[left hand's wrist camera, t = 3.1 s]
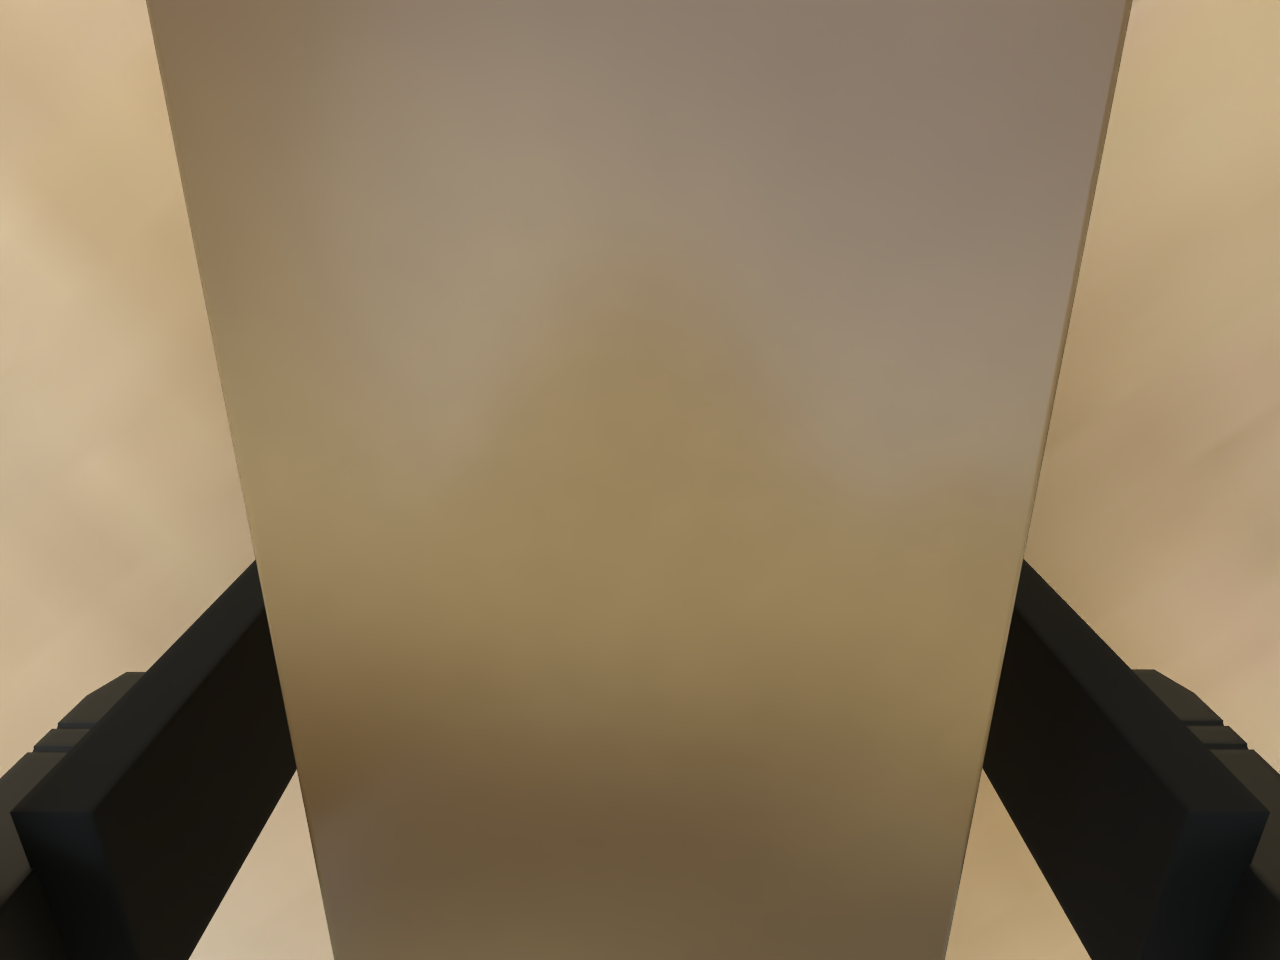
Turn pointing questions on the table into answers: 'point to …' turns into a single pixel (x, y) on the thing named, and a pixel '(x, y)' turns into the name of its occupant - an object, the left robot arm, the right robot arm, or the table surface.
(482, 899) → the bar
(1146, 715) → the left robot arm
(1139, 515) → the table surface
